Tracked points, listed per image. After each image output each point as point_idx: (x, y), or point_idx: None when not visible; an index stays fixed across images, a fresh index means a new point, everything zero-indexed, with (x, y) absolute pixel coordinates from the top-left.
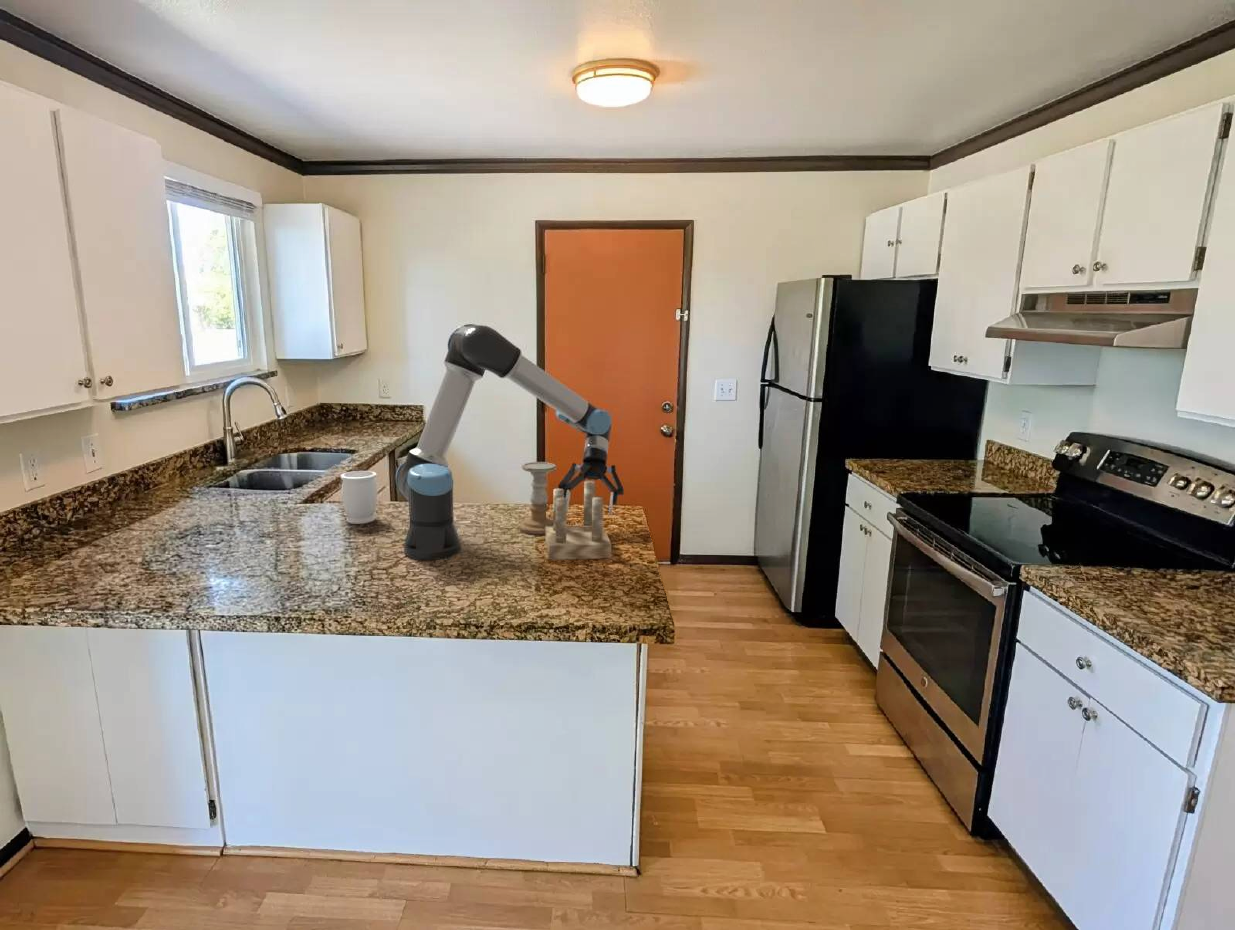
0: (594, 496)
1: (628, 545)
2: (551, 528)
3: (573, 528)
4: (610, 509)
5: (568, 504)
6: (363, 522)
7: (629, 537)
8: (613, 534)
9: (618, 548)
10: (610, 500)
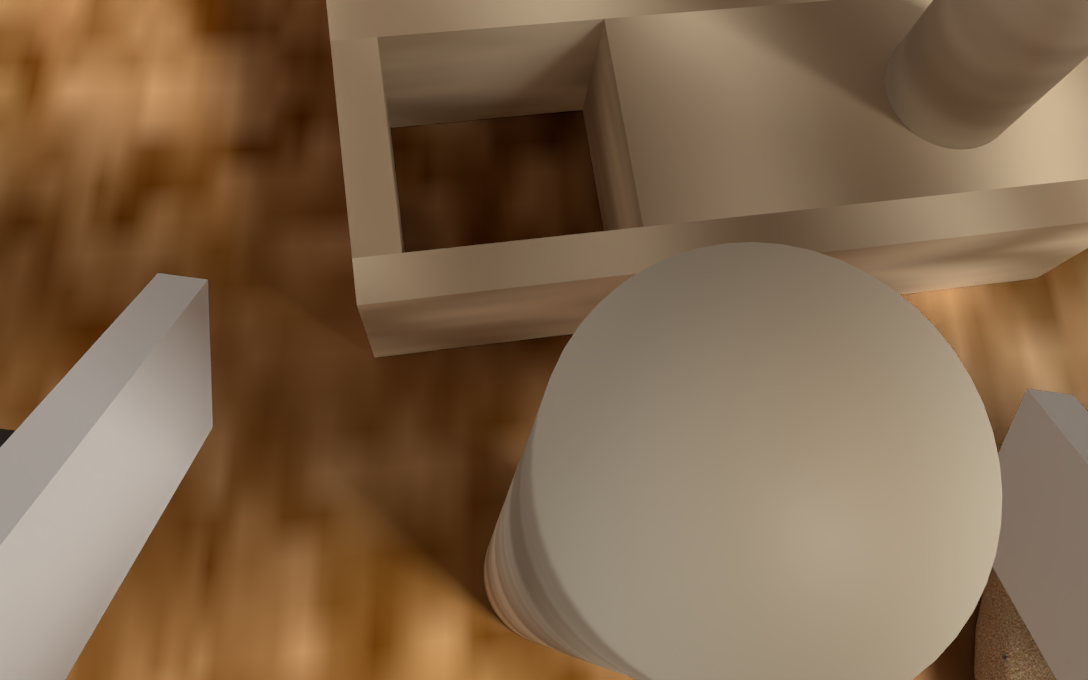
0: (509, 495)
1: (75, 119)
2: (1045, 139)
3: (765, 148)
4: (165, 289)
5: (1045, 612)
6: None
7: (8, 406)
8: (214, 519)
9: (207, 27)
10: (95, 407)
